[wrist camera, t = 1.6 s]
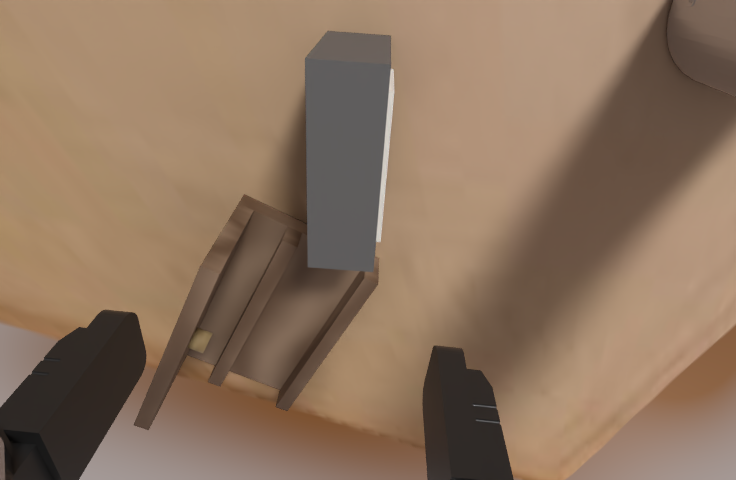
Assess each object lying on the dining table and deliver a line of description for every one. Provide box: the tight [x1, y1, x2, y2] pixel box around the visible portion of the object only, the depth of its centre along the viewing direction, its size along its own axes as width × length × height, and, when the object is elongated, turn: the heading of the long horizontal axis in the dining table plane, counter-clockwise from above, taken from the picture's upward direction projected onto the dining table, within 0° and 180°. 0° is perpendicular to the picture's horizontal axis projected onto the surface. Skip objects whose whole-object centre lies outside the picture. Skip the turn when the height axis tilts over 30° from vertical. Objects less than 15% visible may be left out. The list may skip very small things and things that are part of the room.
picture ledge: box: [134, 195, 379, 430], centre depth 36 cm, size 12×18×10 cm, turn 151°
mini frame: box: [305, 31, 394, 272], centre depth 28 cm, size 4×12×9 cm, turn 177°
